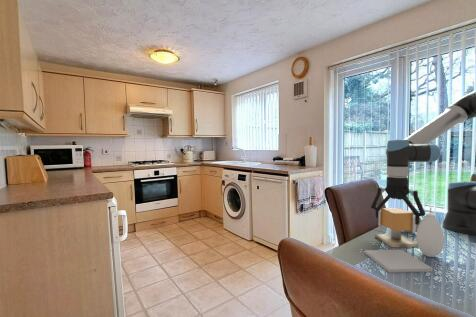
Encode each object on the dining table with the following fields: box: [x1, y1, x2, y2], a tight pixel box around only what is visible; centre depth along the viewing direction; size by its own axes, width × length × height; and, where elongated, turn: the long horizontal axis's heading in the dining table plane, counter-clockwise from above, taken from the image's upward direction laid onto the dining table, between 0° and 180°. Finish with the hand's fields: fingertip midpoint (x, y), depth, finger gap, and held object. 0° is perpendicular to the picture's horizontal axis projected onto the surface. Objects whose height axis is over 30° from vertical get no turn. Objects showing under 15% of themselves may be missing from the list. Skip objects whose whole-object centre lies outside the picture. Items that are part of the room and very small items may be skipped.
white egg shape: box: [415, 207, 445, 258], centre depth 86 cm, size 8×8×18 cm
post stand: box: [374, 229, 419, 248], centre depth 99 cm, size 11×11×11 cm
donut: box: [402, 210, 422, 234], centre depth 110 cm, size 10×3×10 cm, turn 47°
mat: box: [364, 249, 434, 273], centre depth 82 cm, size 14×14×1 cm
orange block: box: [380, 207, 413, 232], centre depth 99 cm, size 8×8×7 cm
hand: (396, 228), depth 99 cm, fingers closed on orange block, 11 cm apart
